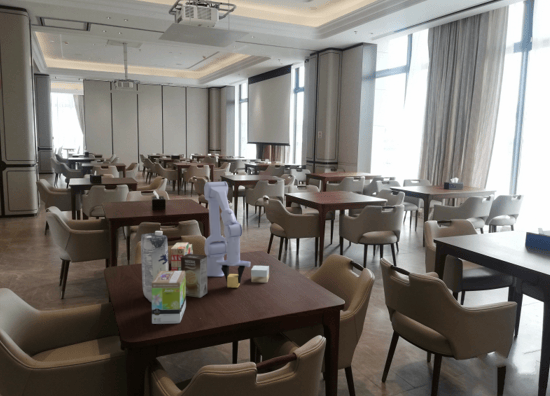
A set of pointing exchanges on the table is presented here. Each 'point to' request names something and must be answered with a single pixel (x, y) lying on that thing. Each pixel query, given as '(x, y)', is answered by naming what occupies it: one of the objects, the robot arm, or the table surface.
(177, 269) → the red cream box
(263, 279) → the birch slab
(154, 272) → the juice carton
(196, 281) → the coffee box
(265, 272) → the grey-blue slab
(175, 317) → the tea box
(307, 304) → the table surface
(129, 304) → the table surface
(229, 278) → the mustard cube
